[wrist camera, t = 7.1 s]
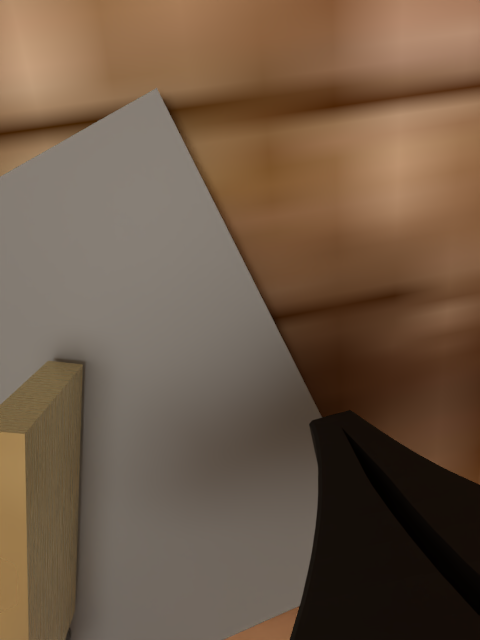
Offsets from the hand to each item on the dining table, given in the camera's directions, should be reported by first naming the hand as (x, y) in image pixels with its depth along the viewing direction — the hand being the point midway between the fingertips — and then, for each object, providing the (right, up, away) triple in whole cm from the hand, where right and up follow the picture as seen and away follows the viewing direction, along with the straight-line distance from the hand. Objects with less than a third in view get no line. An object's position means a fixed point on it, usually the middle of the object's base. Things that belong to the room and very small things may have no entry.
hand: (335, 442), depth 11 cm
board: (-9, -2, +2) cm, 10 cm away
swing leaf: (-10, -4, +2) cm, 11 cm away
